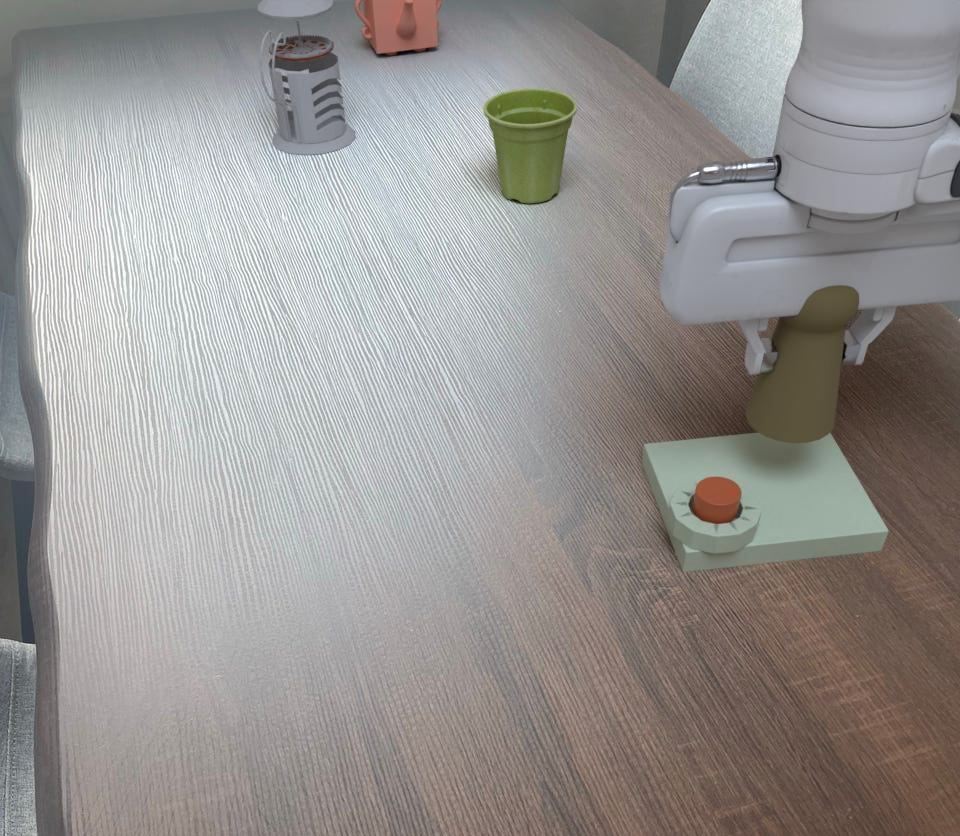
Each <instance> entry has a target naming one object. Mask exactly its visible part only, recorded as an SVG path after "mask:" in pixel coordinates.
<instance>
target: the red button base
mask: <svg viewBox="0 0 960 836" xmlns="http://www.w3.org/2000/svg"><path fill="white" fill-rule="evenodd" d="M641 457H642V458H641V466H642V468H643V472H644V474H645V476H646V478H647V482H648V483H649V487H650V489H651V492H652V494H653V497H654V500H655V503H656V505H657V508H658V511H659V513H660V516H661V518H662V520H663V524H664V527H665V529H666V532H667V534H668V537H669V540H670V542H671V545H672V548H673V550H674V554H675V555H676V558H677V561H678V563H679V567H680V569H681V571H682V573H692V572H700V571H708V570H719V569H728V568H734V567H735V568H736V567H737V568H738V567H746V566H757V565H765V564H773V563H782V562H783V563H784V562H792V561H801V560H802V561H803V560H811V559H820V558H829V557H830V558H831V557H838V556H839V557H840V556H847V555H848V556H849V555H857V554H866V553H876V552H882V551H883V548H884V545H885V542H886V540H887V537H888V534H889V532H890V531H889V528H888V527H887V525H886V524H885V522H884V520H883V519H882V517H881V514H879V512H878V510H877V508H876V507H875V505H874V503H873V502H872V500H871V498H870V497H869V494H868V493H867V492H866V490H865V488H864V487H863V484H862V483H861V482H860V480H859V478H858V476H857V475H856V473H855V472H854V470H853V468H852V466H851V465H850V463H849V461H848V460H847V458H846V457H845V455H844V454H843V452H842V450H841V448H840V447H839V445H838V443H837V442H836V440H835V438H834V436H833V435H832V432H830V433H829V434H828V435H826V436H825V437H823V438H821V439H820V440H816V441H812V442H808V443H788V442H781V441H777V440H774V439H771V438H768V437H766V436H764V435H762V434H761V433H759V432H751V433H749V432H748V433H740V434H731V435H730V434H729V435H719V436H708V437H700V438H690V439H689V438H688V439H679V440H670V441H659V442H649V443H644V444H643V451H642V456H641ZM714 476H718V477H724V478H728V479H730V480H732V481H734V482H735V483H737V484H738V485H739V487H740V489H741V492H742V494H741V499H740V504H739V509H738V513H737V516H736V518H735V519H734V520H733V521H731V522H729V523H723V524H713V523H709V522H705V521H702V520H700V519H699V518H697V517H696V516H695V514H694V513H693V509H692V507H693V501H694V495H695V489H696V486H697V484H698V483H699V482H700V481H701V480H703V479H705V478H708V477H714Z"/></svg>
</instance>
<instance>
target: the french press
mask: <svg viewBox="0 0 960 836" xmlns="http://www.w3.org/2000/svg"><path fill="white" fill-rule="evenodd" d="M333 1H334V0H261V1H260V2H259V3H258V4H257V12H258V13H259V14H260V15H261V16H262V17H263V18H265V19H268V20H272V21H276V22H277V21H278V22H296V26H297V32H298V35H297V34H295V35H292V36H291V35H290V36H286V34H285V32H284V31H282V32H279V34H278V36H277V38H276V39H274V35H273V32H272V29H270V30H269V29H268V30H267V31H266V32H265V34H264V35H263V38H262V40H261V43H260V44H261V45H260V50H259V62H258V64H259V65H258V67H259V73H260V79H261V84H262V87H263V90H264V92H265V93H266V96H267V97H268V98H269V100H270V101H271V102H273V103H274V105H275V113H276V118H277V124H278V129H277V131H276V132H275V133H274V135H272V145H273V146H274V147H275V148H276V149H277V150H279V151H282V152H285V153H288V154H291V155H302V156H311V155H322V154H328V153H331V152H335V151H339V150H341V149H343V148H345V147H347V146H349V145H351V143H352V142H353V141H354V140H355V139H356V131H355V129H353V128H352V127H351V126H350V125H349V124H348V123H347V122H346V118H344V117H345V116H346V114H345V107H344V106H343V105H344V97H343V94H341V93H343V90H342V84H341V83H340V81H341V71H340V63H339V57H338V55H336V54H335V53H334V52H332V51H333V50H334V47H335V46H334V42H333V41H332V40H331V39H330V38H329V37H326V36H322V35H317V34H315V35H314V34H313V35H312V34H307V35H306V34H304V35H303V34H301V27H300V21H303V20H309V19H314V18H317V17H320V16H323V15H325V14H326V13H328V12H329V11H330V10H331V9H332V8H333V6H334V2H333ZM268 35H269V36H270V40H271V42H272V43H271V44H270V45H269V47H268V53H269V54H270V55H271V56H272V57H271V58H270V60H269V62H268V69H269V75H270V81H271V88H272V93H273V97H272V96H271V95H270V93H269V91H268V88H267V86H266V82H265V77H264V72H263V51H264V45H265V41H266V38H267V37H268ZM276 69H280V70H283V71H287V72H303V71H306V70H308V73H307V72H306V73H286V75H283V74H282V72H280V71H277V70H276ZM284 83H287V85H288V87H286V86H285V87H284ZM286 95H289V99H287V98H286ZM287 106H289V107H291V110H288V107H287Z"/></svg>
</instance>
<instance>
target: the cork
mask: <svg viewBox="0 0 960 836" xmlns="http://www.w3.org/2000/svg"><path fill="white" fill-rule="evenodd" d="M858 306H859V293H858V292H857V291H856V290H855V289H854V288H853V287H850V286H844V285H837V286H828V287H825V288H822V289H819V290H816V291H814V292H813V293H812V294H811V295H810V296H809V297H808V298H807V299H806V301H805V303H804V305H803V307H802V308H801V310H800V312H799V314H798V315H796V316H786V317H778V320H777V323H776V326H775V328H774V331H773V334H772V335H771V338H770V339H771V341H772V342H773V344H772V345H773V346H775V348H776V349H777V351H778V355H777V360H776V362H775V363H774V366H775V369H774V371H773V372H772V373H768V374H759V375H758V374H757V377H756V380H755V383H754V386H753V389H752V391H751V394H750V396H749V399H748V402H747V405H746V408H745V415H744V416H745V418H746V421H747V423H748V424H749V425H750V427H752V429H753V430H754V431H756V433H761V434H762V435H764V436H766V437H768V438H771V439H774V440H777V441H781V442H788V443H808V442H812V441H816V440H820V439H821V438H823V437H825V436H826V435H828V434H829V433H832V430H833V429H834V428H835V422H836V414H837V413H836V412H837V404H838V397H839V387H840V378H841V372H842V371H841V370H842V366H841V363H842V354H843V346H844V337H845V330H847V328H846V327H847V324H848V323H850V322H851V321H852V320H853V318H854V317H855V316H856V315H857V313H858V311H859V310H858Z"/></svg>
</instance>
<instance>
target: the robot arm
mask: <svg viewBox="0 0 960 836" xmlns="http://www.w3.org/2000/svg"><path fill="white" fill-rule="evenodd" d="M801 19H802V33H801V34H802V35H801V41H800V45H799V46H800V47H799V50H798V53H797V56H796V58H795V61H794V63H793V64H792V65H793V66H792V67H791V69H790V71H789V74H788V76H787V79H786V83H785V85H784V86H785V87H784V93H783V98H782V102H781V109H780V113H779V115H780V116H779V119H778V124H777V130H776V136H775V142H774V146H773V151H772V156H764V157H754V158H753V157H752V158H746V159H741V160H736V161H735V160H734V161H727V162H723V160H722V161H721V160H716V161H715V160H714V161H708V162H704V163H700V164H698V166H697V170H695V171H692V172H689V173H688V174H686V175H684V176H683V177H682V178H681V179H680V180H678V182H677V183H676V184H675V185H674V186H673V188H672V190H671V193H670V195H669V200H668V210H667V220H666V226H667V231H668V233H669V235H668V238H667V241H666V245H665V250H664V253H663V259H662V264H661V267H660V268H661V269H660V273H659V274H660V275H659V281H658V292H659V296H660V299H661V302H662V304H663V306H664V308H665V309H666V311H667V312H668V314H669V315H670V316H671V317H672V319H673V320H674V321H675V322H676V323H677V324H678V325H680V326H685V327H687V326H696V325H707V324H719V323H729V322H730V323H731V322H738V324H739V327H740V329H741V331H742V333H743V336H744V337H745V340H746V341H747V344H746V348H745V353H744V367H745V368H746V370H747V372H748V374H749V375H750V376H755V375H756V376H758V375H759V374H768V373H772V372H773V371H774V369H775V366H774V363H775V362H776V360H777V355H778V351H777V349H776V348H775V346H773V345H772V344H773V342H772V341H771V339H772V338H771V337H760V334H759V333H758V332H765V331H766V330H767V329H768V326H769V321H770V319H772V318H773V319H774V318H775V319H776V318H779V317H786V316H796V315H798V314H799V312H800V310H801V308H802V307H803V305H804V303H805V301H806V299H807V298H808V297H809V296H810V295H811V294H812V293H813V292H814V291H816V290H819V289H822V288H825V287H828V286H837V285H844V286H850V287H853V288H854V289H855V290H856V291H857V292H858V293H859V306H858V311H861V310H862V312H861V313H860V315H859V316H858V317H857V319H855V321H854V322H853V323H852V325H851V326H850V327H849V329H845V337H844V346H843V354H842V363H841V367H848V366H860V365H862V364H863V363H864V362H865V361H864V360H865V357H866V354H867V350H868V347H869V344H871V343H872V342H873V341H874V340H875V339H877V337H878V336H879V335H880V334H881V333H882V332H883V331H884V330H885V329H886V328H887V327H888V325H890V323H891V322H892V321H893V320H894V317H895V314H896V311H897V308H898V307H905V306H916V305H929V304H938V303H939V304H941V303H948V302H949V303H950V302H951V303H952V302H960V109H956V108H954V104H955V101H956V96H957V86H958V79H959V77H960V0H801ZM694 180H697V181H694Z"/></svg>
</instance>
